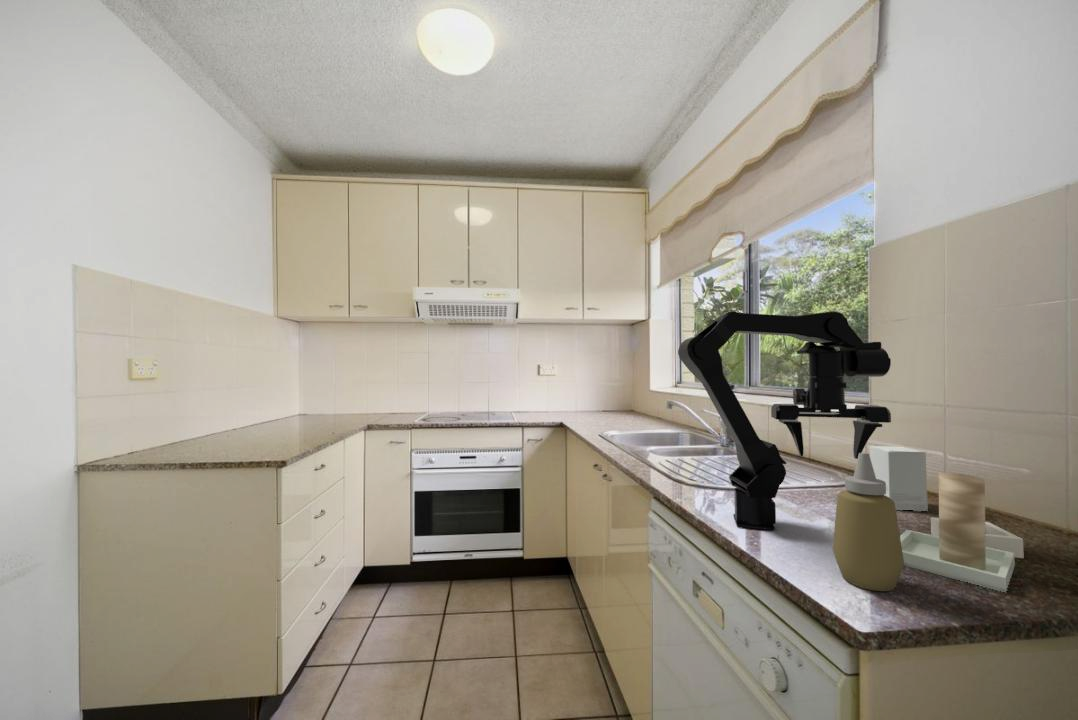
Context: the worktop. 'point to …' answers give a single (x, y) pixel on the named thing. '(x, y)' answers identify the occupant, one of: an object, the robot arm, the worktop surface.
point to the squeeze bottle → (867, 531)
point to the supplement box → (902, 475)
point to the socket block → (993, 538)
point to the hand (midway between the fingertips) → (828, 457)
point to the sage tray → (925, 557)
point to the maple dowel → (962, 520)
